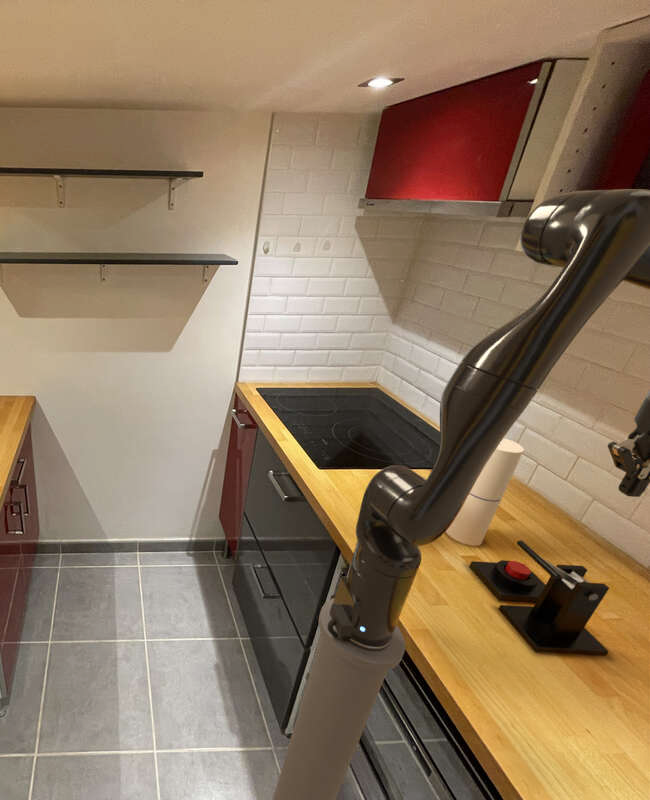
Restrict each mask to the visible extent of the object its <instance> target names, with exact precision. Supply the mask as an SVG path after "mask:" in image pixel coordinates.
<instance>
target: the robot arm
mask: <svg viewBox="0 0 650 800" xmlns="http://www.w3.org/2000/svg"><path fill="white" fill-rule="evenodd" d="M519 243H520V247H521V249H522V252H523V253H524V254H525V256H526V257H527V258H528V259H529V260H531V261H533V262H534V263H536V264H540V265H542V266H545V267H552V268H558V269H561V270H560V272H559V274H558V275H557V276H556V277H555V278H554V280H553V282H552V283H551V284H550V285H549V287H548V288H547V289H546V291H545V292H544V293H543V294H542V295H541V296H540V297H539V299H537V300H536V301H535V302H534V303H533V304H532V305H531V306H529V307H528V308H527V309H526V310H524V311H523V312H521V313H520V314H519V315H517V316H516V317H514V318H512V319H511V320H509V321H508V322H506V323H505V324H503V325H501V326H500V327H498V328H496V329H495V330H493V331H491V332H490V333H488V334H487V335H485V337H483V338H481V339H480V340H479V341H477V342H476V343H475V344H474V345H473V346H471V348H469V349H468V350H467V352H466V353H465V354H464V355H463V356H462V358H461V360H460V362H459V363H458V365H457V366H456V368H455V370H454V371H453V373H452V374H451V376H450V377H449V379H448V381H447V382H446V384H445V386H444V388H443V390H442V393H441V396H440V402H439V448H438V453H437V456H436V460H435V462H434V465H433V467H432V468H431V471H430V472H429V474H428V476H427V478H425V477H424V478H425V479H427V480H425V479H424V478H422V477H423V476H422V475H420V474H418V473H417V472H415V471H414V470H412V469H411V468H409V467H407V466H405V465H404V466H403V465H398V464H394V465H389V466H386V467H384V468H382V469H380V470H379V471H377V472H376V474H374V476H373V477H372V478H371V479H370V481H369V482H368V483H367V485H366V488H365V489H364V492H363V496H362V500H361V503H360V508H359V513H358V517H357V522H356V526H355V537H356V539H357V540H356V545H355V548H354V552H353V554H352V558H351V561H350V564H349V568H348V571H347V573H346V576H343V575H342V576H341V577H340V578H339V582H338V585H337V589H336V593H335V595H334V598H335V599H334V602H333V604H332V606H331V609H330V613H329V614H330V616H331V618H332V619H331V620H330V621H329V623H328V631H329V632H330V633H331V634H332V635H333V637H334V638H337V637H338V634H339V636H341V638H342V640H343V641H344V642H350V643H352V644H353V645H355V646H357V647H359V648H362V649H365V650H369V651H381V650H384V649H386V648H387V647H388V646H389V644H390V642H391V639H392V635H393V632H394V630H395V627H396V625H398V622H399V619H400V616H401V614H402V613H403V612H402V611H403V609H404V607H405V604H406V602H407V599H408V596H409V594H410V591H411V588H412V586H413V584H414V581H415V578H416V577H417V574H418V571H419V569H420V566H421V564H422V552H421V549H420V548H419V547H422V546H427V545H429V544H432V543H434V542H435V541H437V540H438V539H439V538H440V537H442V536H443V535H444V534H445V533H446V530H447V529H448V528H449V527H450V525H451V524H452V523H453V521H454V520H455V518H456V516H457V515H458V513H459V511H460V510H461V508H462V506H463V504H464V502H465V501H466V499H467V497H468V495H469V493H470V491H471V489H472V488H473V486H474V484H475V482H476V480H477V479H478V477H479V475H480V473H481V472H482V470H483V468H484V467H485V465H486V463H487V462H488V460H489V459H490V457H491V456H492V454H493V453H494V451H495V450H496V448H497V447H498V445H499V444H500V442H501V441H502V440H503V438H505V437H506V435H507V434H508V433H509V431H510V430H511V428H513V426H514V425H515V424H516V422H517V420H518V419H519V418H520V416H522V414H523V413H524V412H525V410H526V409H527V407H528V406H529V405H530V403H531V402H532V400H533V399H534V398H535V396H536V394H537V393H538V392H539V390H540V389H541V387H542V386H543V384H544V383H545V381H546V380H547V379H548V377H549V375H550V373H551V372H552V371H553V369H554V367H555V366H556V365H557V363H558V362H559V360H560V359H561V358H562V356H563V355H564V354H565V352H566V351H567V349H568V348H569V347H570V345H571V344H572V342H573V341H574V340H575V338H576V337H577V336H578V335H579V333H580V332H581V331H582V330H583V328H584V327H585V325H586V324H588V322H589V320H590V319H591V318H592V317H593V316H594V315H595V314H596V312H597V311H598V310H599V309H600V308H601V306H602V305H603V304H604V303H605V302H606V301H607V299H608V298H609V297H610V296H611V295H612V294H613V293H614V292H615V290H616V289H618V287H619V286H620V284H622V282H623V283H626V284H629V285H632V286H635V287H638V288H640V289H643V290H645V291H647V292H650V189H644V188H643V189H642V188H640V189H639V188H638V189H637V188H636V189H635V188H633V189H632V188H625V189H623V188H622V189H621V188H620V189H595V190H590V189H589V190H574V191H568V192H563V193H559V194H556V195H554V196H551V197H549V198H547V199H545V200H543V201H542V202H541V203H540V204H539V205H537V206H536V207H535V208H534V209H533V210H532V211H531V212H530V213H529V214H528V216H527V217H526V219H525V220H524V222H523V225H522V227H521V230H520V235H519ZM633 420H634V422H635V424H636V428H634V430H633V431H632V432H630V433H629V434H628V436H627V439H626V440H623V441H620V442H619V443H618V442H615V441H610V442H609V443H608V444H607V448H608V451H609V453H610V456H611V459H612V462H613V463H614V467H615V468H616V469H618V470H621V471H623V472H624V473H625V474H624V476H623V478H622V480H621V481H620V483H619V484H618V491H619V492H620V493H622V494H623V495H625V496H626V497H631V498H632V497H633V498H641V496H642V494H643V493H645V491H646V489H647V488H648V486H649V485H650V390H649V391H648V393H647V394H646V396H645V398H644V400H643V402H642V403H641V405H640V407H639V409H638V410H637V412H636V414H635V416H634V418H633ZM421 476H422V477H421ZM334 625H335V627H336V630H337V632H338V634H337V633H336V632H335V631H334V629H333V626H334Z"/></svg>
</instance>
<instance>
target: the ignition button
mask: <svg viewBox="0 0 650 800" xmlns="http://www.w3.org/2000/svg"><path fill="white" fill-rule="evenodd" d="M508 561H509V562H508V564H507V566H506V568H505V571H506V572H507V573H508V574H510V575H511V576H513V577H515V578H517V579H520V580H527V579H528V577H529V575H530V573H531V571H532V570H531V569H530V568H529V567H528V566H527V565H526V564H525V563H522V562H520V561H516V560H508ZM524 564H525V565H524ZM530 570H531V571H530Z"/></svg>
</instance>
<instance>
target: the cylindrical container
mask: <svg viewBox="0 0 650 800" xmlns="http://www.w3.org/2000/svg"><path fill="white" fill-rule="evenodd" d="M524 451H525V449H524V447H523V446H522V445H521V444H519V443H517V442H516V441H513V440H511V439H508V438H505V437H504V438H503V440H502V441H501V442H500V444H499V445H498V447H497V448H496V450H495V451H494V453H493V454H492V456H491V457H490V459H489V460H488V462H487V463H486V465H485V467H484V468H483V470H482V472H481V473H480V475H479V477H478V479H477V480H476V482H475V484H474V486H473V488H472V489H471V491H470V493H469V495H468V497H467V499H466V501H465V502H464V504H463V506H462V508H461V510H460V511H459V513H458V515H457V516H456V518H455V520H454V521H453V523H452V524H451V525H450V527H449V528H448V529H447V530H446V531H445V533H446V534H447V535H448V536H449V537H450V538H451V539H453V540H455V541H456V542H459V543H461V544H463V545H467V546H476V547H477V546H480V545H481V544H482V543H483V541H484V539H485V536H486V534H487V532H488V531H489V528H490V525H491V523H492V521H493V519H494V517H495V515H496V513H497V510H498V508H499V505H500V504H501V501H502V499H503V497H504V495H505V492H506V490H507V489H508V485H509V484H510V481H511V479H512V477H513V475H514V472H515V470H516V468H517V466H518V464H519V461H520V460H521V457H522V455H523V453H524Z"/></svg>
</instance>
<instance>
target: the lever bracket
mask: <svg viewBox="0 0 650 800" xmlns="http://www.w3.org/2000/svg"><path fill="white" fill-rule="evenodd" d="M556 566H557V567H558V568H560V569H561V570H563V571H565V572H566V573H568V574H570V573H571V572H573V571H574V572H575V573H577V574H578V575H580V576H582V577H583V578H585V575H586V573H587V572H588V569H587V568H586V567H585V566H584V565H574V564H556ZM561 579H563V578H560V579H557V580H556V579H554V578H553V577H552V576H551V575H549V579H548V580H547V582H546V585H545V587H544V589H543V591H542V593H541V594H540V596H539V598H538V600H537V601H536V603H534V605H533V606H527V605H510V604H499V607H498V611H499V612H500V613H501V614H502V615H503V616H504V618H505V619H506V620H507V621H508V622H509V623H510V625H512V627H513V628H514V629H515V630H516V631H517V633H518V634H519V635H520V636H521V637H522V638H523V639H524V641H525V642H526V644H528V645H529V647H530V648H531V649H532V650H533V651H534V652H535V653H550V654H566V655H568V654H569V655H585V656H598V657H599V656H600V657H606V656H607V655H608V654H609V650H608V649H607V648H606V647H605V646H604V645H603V643H601V642H600V641H599V640H598V639H597V638H596V637H595V636H594V635H593V634H592V633H591V632H590V631H589V630H588V629H587V628H586V626H587V624H588V622H589V621H590V619H591V618H592V616H593V615H594V613H595V611H596V610H597V608H598V607H599V605H600V604H601V602H602V600H603V599H604V597H605V596H606V594H607V593H608V591H609V590H610V587H609V586H608V585H606V584H605V583H602V582H601V583H600V582H589V583H584V582H577V583H576V585H575V586H574V588H573V590H572V589H571V588H570V587H569V586H567V585H566V584H565V583H564V582H563V581H562V580H561Z"/></svg>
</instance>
